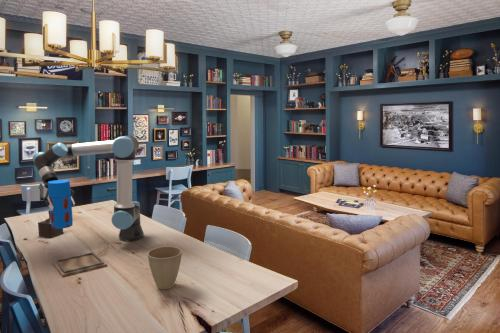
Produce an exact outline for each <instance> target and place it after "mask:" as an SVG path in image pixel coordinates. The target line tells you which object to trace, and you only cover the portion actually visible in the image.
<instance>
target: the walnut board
mask: <svg viewBox="0 0 500 333" xmlns="http://www.w3.org/2000/svg"><path fill="white" fill-rule="evenodd" d="M52 265H53V266H54V268H55V269H56V271H57V272H58V274H59V275H60V276H61V277H62V278H65V277H69V276H73V275H76V274H82V273H85V272H89V271H93V270H99V269H103V268H106V267H108V263H107V262H106V261H105V260H103V259H102V258H101V257H100V255H99V254H97V253H96V252H93V251H92V252H87V253H83V254H79V255H74V256H68V257H64V258H60V259H56V260H55V261H52Z"/></svg>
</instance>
